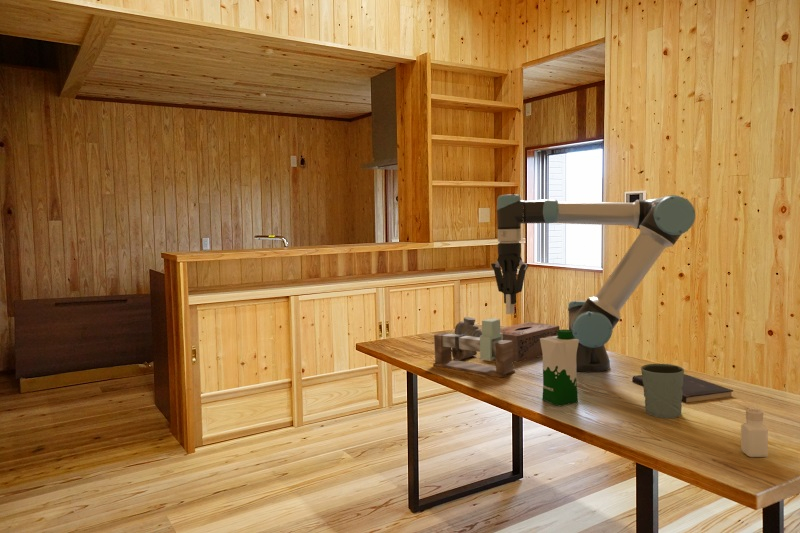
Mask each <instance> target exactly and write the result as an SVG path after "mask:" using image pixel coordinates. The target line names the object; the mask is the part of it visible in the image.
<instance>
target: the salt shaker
mask: <svg viewBox="0 0 800 533" xmlns="http://www.w3.org/2000/svg"><path fill="white" fill-rule="evenodd" d="M763 422H764V411H763V410H762V409H761V410H760V409H757V408H756V409H755V408H747V409H745V423H742V424H741V425H740V427H741V428H740V432H741V433H740V437H741V438H740V449H741V452H743V453H744V454H745V455H746V456H748V457H750V458H767V457H768V455H769V454H768V452H769V451H768V449H769V448H768V447H769V445H768V444H769V443H768V442H769V431H768V430H769V429H768V428H767V426H764V424H763Z"/></svg>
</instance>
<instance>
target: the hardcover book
mask: <svg viewBox="0 0 800 533" xmlns="http://www.w3.org/2000/svg"><path fill="white" fill-rule="evenodd" d="M631 380H632V382H633V383H635V384H638V385H640V386H642V387H644V385H643V380H642V374H638V375H633V376H632V379H631ZM682 390H683V392H682V400H681V402H683V403H685V404H686V403H691V402H700V401H705V400H706V401H707V400H713V399H714V400H715V399H720V398H728V397H730V398H731V397H732V392H734V390H733V389H732V388H731V389H730V388H727V387H725V386H721V385H718V384H715V383H712V382H709V381H707V380H704V379H701V378H698V377H695V376H692V375H688V374H686V373H684V377H683V386H682Z"/></svg>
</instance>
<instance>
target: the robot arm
mask: <svg viewBox="0 0 800 533" xmlns="http://www.w3.org/2000/svg"><path fill="white" fill-rule="evenodd" d="M496 201H497V203H496V218H497V219H496V220H497V221H496V222H497V224H496V225H497V241H498V242H499V243H498V244H497V255H498V256H497V259H496V261H495V262H493V263H491V264H490V266H491V267H492V269H493V271H494V277H495V280H496V286H497V290H498V292H500V293H502V294H503V304H505V314H506V315H513V314H515V304H517V294H518V293H522V290H523V286H524V281H525V276H526V271H527V269H528V268H529V264H528V263H525V262H524V261H523V259H522V256H521V254H522V244H521V242H520V241H521V240H522V229H521V228H522V227H521V226H522V225H521V224H524V225H525V224H566V225H567V224H568V225H569V224H571V225H579V224H580V225H601V226H630V227H631V226H632V228H634V229H636V230H637V229H638V230H639V234H638V236H637V237H636V239H635V240H634V241H633V243H632V244H631V245H630V247H629V249H628V250H627V251H626V253H624V255H623V257H622V258H621V259H620V261H619V262H618V264H617V265H616V267H615V268H614V269H613V271H612V272H611V274H610V275H609V276H608V278H607V280H605V282H604V283H603V285H602V286H601V288H600V289H599V290H598V292H597V293H596V294H595V295H593V296H589V297H587V299H586V300H571V301H570V302H569V303H568V307H567V312H568V330H572V337H573V338H576V339H578V340H579V343H578V348H577V353H576V371H577V372H585V373H588V372H589V373H595V372H603V371H608V370H609V369H610V368H611V360H610V358H609V354H608V352H607V350H606V346H605V345H606V344H607V343H608V342H609V341H610V340H611V338H612V335H613V332H614V331H613V330H614V328H615V327H616V326H617V324H618V322H619V321H620V320H621V313H620V311H621V310H622V309H623V307H624V306H625V304H626V302H628V300H629V299H630V297H631V296H632V295H633V293H634V291H635V290H636V289H637V288H638V286H639V285H640V284H641V283H642V281H643V279H644V278H645V277H646V275H647V274H648V272H649V271H650V270H651V268H652V267H653V266H654V264H655V263H656V262H657V260H658V259H659V257H660V256H661V254H662V253H663V252H664V250H665V249H666V248H670V247H674V246H675V244H676V242H678V240H679V239H680V238H681V236H682V235H683V234H685V233H686V232H688V231H689V230H690V229H691V228H692V226H693V225H694V223H695V220H696V210H695V207H694V206H693V204H692V202H691V201H690V200H688V199H687V198H685V197H684V196H680V195H674V194H671V195H666V196H660V197H657V198H651V199H636V200H635V201H633V202H616V201H614V202H613V201H612V202H611V201H610V202H609V201H607V202H606V201H569V200H568V201H567V200H565V201H563V200H562V201H561V200H560V201H559V200H557V199H548V198H547V199H534V200H523V199H522V198H521V196H520V195H519V194H501V195H499V196H497V200H496Z"/></svg>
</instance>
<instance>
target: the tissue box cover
mask: <svg viewBox="0 0 800 533" xmlns="http://www.w3.org/2000/svg"><path fill="white" fill-rule="evenodd" d="M558 330H560V325H554V324H549V323H539V322H534V321H533V322H532V321H527V322H523V323H517V324H514V325H513V324H512V325H509V326H503V327H500V333H503V340H510V341H513V363H521V362H525V361H529V360H531V359H535V358H539V357H543V353H542V348H541V342H540V338H547V337H552V336H558Z"/></svg>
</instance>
